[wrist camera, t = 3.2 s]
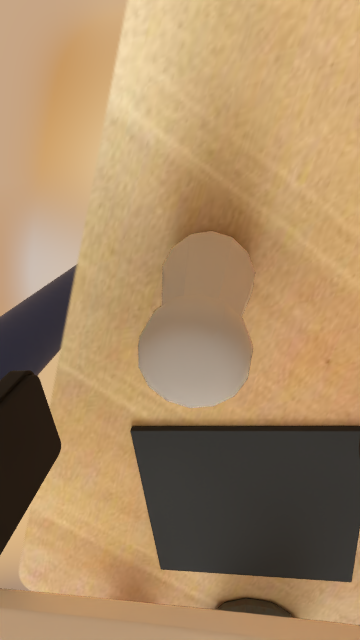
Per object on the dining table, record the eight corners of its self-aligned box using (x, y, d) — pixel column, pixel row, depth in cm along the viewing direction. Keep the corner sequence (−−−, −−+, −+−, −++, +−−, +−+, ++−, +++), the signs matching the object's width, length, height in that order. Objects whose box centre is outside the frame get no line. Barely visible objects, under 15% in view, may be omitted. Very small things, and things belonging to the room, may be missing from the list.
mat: (161, 563, 39) (160, 569, 38) (131, 426, 30) (130, 430, 30) (349, 576, 35) (351, 582, 35) (372, 425, 27) (375, 431, 27)
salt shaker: (262, 291, 24) (297, 416, 12) (187, 316, 25) (152, 449, 14) (234, 210, 22) (244, 266, 10) (154, 243, 23) (81, 325, 12)
